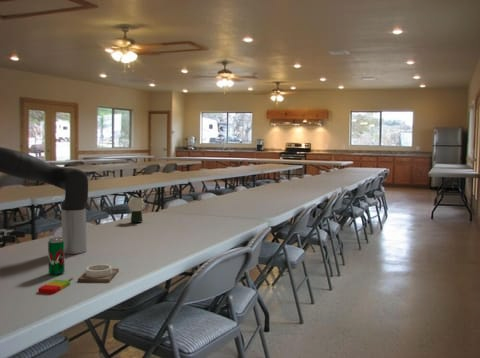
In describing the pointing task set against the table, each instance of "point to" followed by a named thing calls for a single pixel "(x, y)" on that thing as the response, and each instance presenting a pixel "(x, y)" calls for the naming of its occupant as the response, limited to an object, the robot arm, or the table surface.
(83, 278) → the socket plate
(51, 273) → the soda can
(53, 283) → the popsicle
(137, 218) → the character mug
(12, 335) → the table surface
